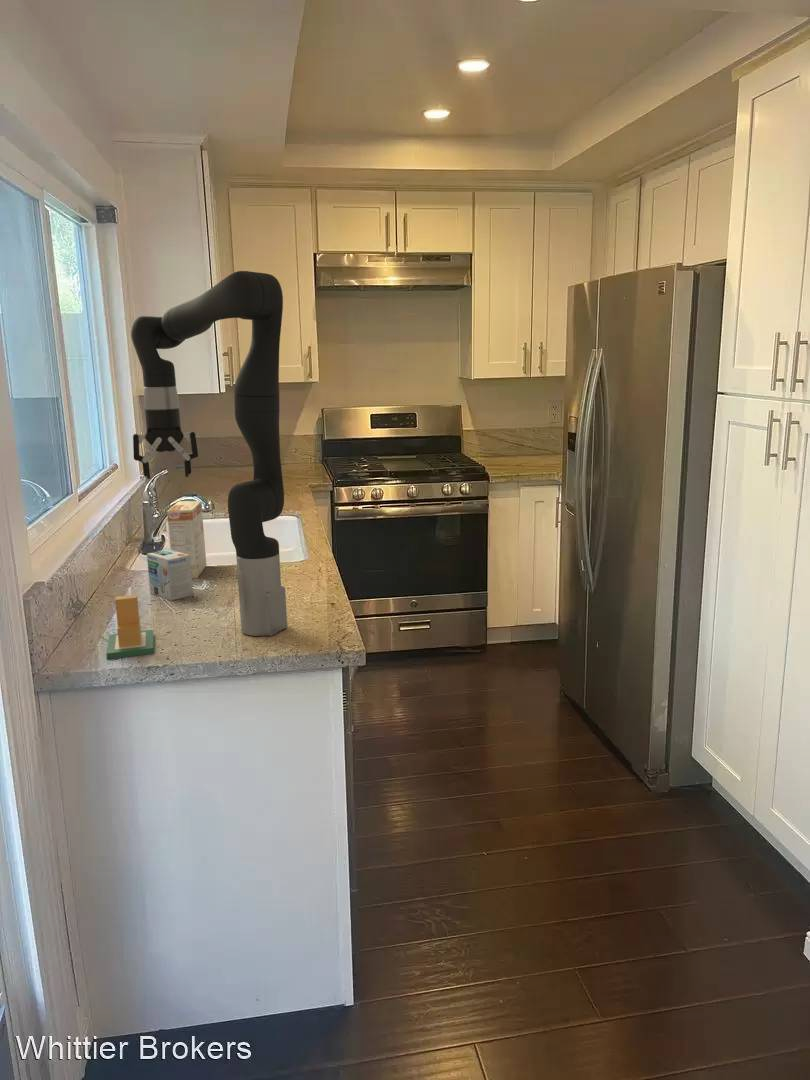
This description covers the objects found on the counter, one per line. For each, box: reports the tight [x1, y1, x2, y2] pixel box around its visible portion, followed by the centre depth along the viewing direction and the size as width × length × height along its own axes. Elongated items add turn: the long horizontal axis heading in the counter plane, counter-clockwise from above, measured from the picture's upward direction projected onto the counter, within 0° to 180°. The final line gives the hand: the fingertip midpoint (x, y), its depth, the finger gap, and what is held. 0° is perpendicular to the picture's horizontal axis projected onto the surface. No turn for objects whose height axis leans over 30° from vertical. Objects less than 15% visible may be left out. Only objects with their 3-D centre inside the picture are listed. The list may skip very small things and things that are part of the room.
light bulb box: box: [146, 548, 194, 601], centre depth 199 cm, size 11×7×11 cm, turn 47°
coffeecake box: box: [166, 500, 208, 580], centre depth 219 cm, size 15×7×20 cm, turn 4°
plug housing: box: [114, 594, 142, 647], centre depth 162 cm, size 10×4×10 cm, turn 18°
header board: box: [106, 629, 155, 660], centre depth 162 cm, size 12×9×4 cm
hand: (168, 477), depth 180 cm, fingers open, 8 cm apart
